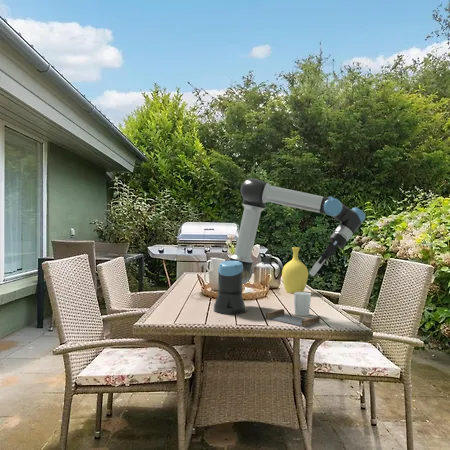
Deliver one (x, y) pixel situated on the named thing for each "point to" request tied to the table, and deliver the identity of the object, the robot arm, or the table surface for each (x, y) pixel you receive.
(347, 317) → the table surface
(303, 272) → the vase
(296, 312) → the white cup
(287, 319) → the drying mat
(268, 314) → the mat rails
